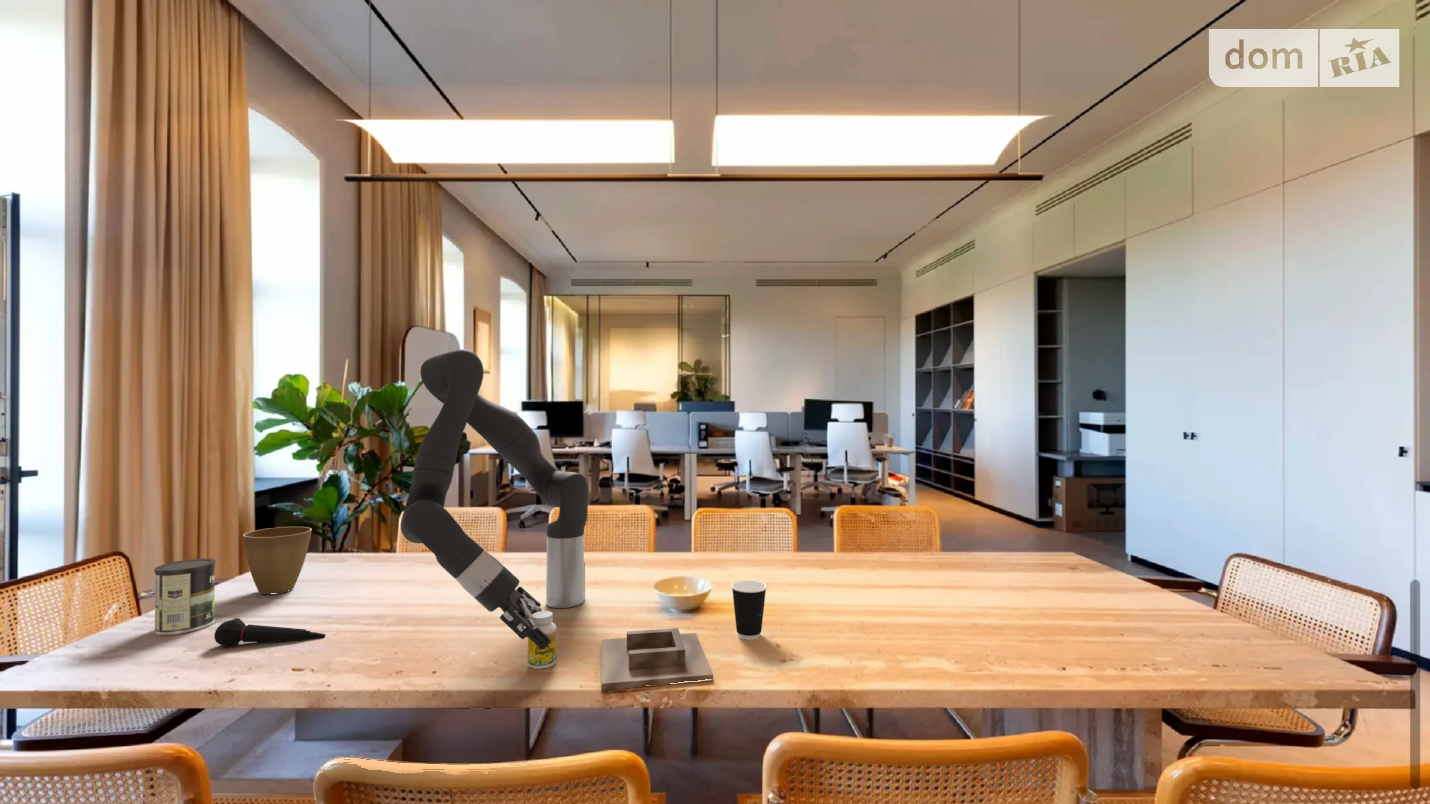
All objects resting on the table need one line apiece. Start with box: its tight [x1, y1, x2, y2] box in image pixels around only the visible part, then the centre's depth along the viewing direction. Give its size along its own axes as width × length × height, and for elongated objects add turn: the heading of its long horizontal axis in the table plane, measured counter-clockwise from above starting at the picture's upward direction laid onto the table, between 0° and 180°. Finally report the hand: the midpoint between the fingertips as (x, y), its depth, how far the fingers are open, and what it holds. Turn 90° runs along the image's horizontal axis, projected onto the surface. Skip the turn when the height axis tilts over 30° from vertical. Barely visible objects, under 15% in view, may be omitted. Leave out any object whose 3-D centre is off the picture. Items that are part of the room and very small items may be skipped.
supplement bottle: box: [527, 610, 558, 670], centre depth 114 cm, size 5×5×10 cm
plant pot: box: [242, 526, 312, 595], centre depth 159 cm, size 15×15×16 cm
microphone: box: [213, 617, 326, 648], centre depth 124 cm, size 6×6×20 cm
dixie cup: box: [730, 579, 768, 641], centre depth 129 cm, size 8×8×11 cm
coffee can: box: [153, 558, 217, 636], centre depth 133 cm, size 10×10×14 cm
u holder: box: [600, 627, 714, 691], centre depth 115 cm, size 20×20×4 cm
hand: (549, 636), depth 115 cm, fingers open, 8 cm apart
